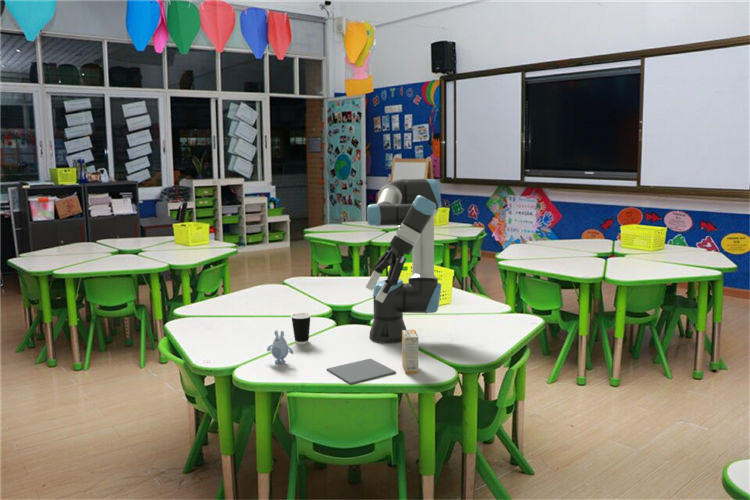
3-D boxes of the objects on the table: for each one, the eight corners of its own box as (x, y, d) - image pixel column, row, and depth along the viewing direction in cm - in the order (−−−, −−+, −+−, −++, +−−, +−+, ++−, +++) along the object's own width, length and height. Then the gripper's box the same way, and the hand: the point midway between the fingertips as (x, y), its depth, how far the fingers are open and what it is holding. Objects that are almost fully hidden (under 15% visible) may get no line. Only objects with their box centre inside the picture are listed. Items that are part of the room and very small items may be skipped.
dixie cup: (315, 343, 253) (314, 316, 251) (295, 346, 250) (294, 319, 248) (307, 338, 260) (306, 311, 258) (288, 341, 257) (287, 314, 255)
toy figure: (263, 364, 231) (261, 331, 229) (271, 358, 237) (270, 326, 235) (289, 367, 227) (288, 334, 225) (297, 361, 233) (296, 329, 231)
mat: (370, 360, 234) (370, 358, 234) (395, 373, 220) (395, 371, 220) (326, 370, 224) (326, 368, 224) (350, 384, 211) (350, 382, 211)
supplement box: (401, 365, 227) (401, 329, 225) (415, 365, 228) (415, 329, 226) (404, 374, 219) (404, 337, 217) (418, 373, 220) (418, 336, 217)
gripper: (385, 227, 226) (355, 279, 228) (407, 243, 203) (373, 301, 205) (402, 236, 229) (373, 288, 231) (426, 253, 205) (393, 311, 207)
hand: (373, 294), depth 218 cm, fingers open, 13 cm apart
